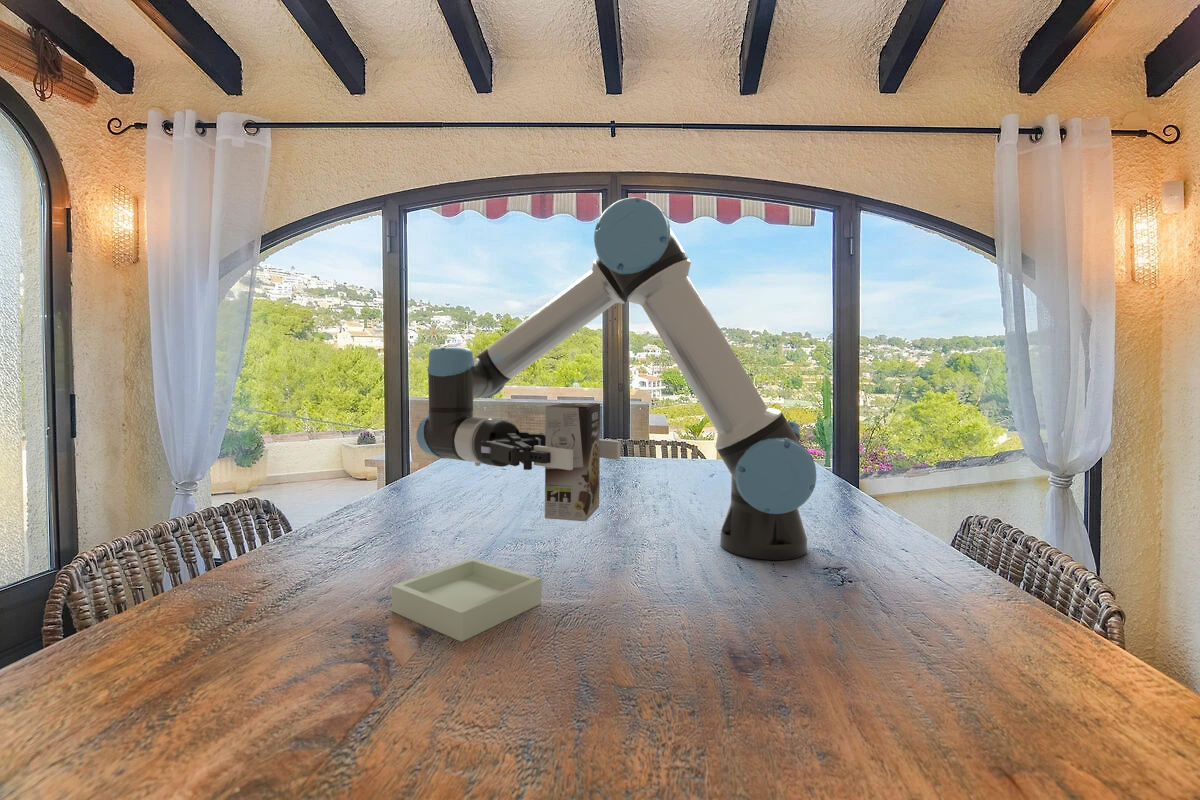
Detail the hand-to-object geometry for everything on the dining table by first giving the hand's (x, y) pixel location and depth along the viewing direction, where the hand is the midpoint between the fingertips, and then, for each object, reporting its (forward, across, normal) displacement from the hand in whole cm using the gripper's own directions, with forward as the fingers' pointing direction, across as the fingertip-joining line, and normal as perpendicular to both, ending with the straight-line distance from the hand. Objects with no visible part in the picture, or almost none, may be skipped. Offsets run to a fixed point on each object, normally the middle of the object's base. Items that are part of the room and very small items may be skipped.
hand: (596, 454), depth 83 cm
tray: (-11, +14, -20) cm, 27 cm away
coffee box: (-4, 0, -9) cm, 10 cm away
